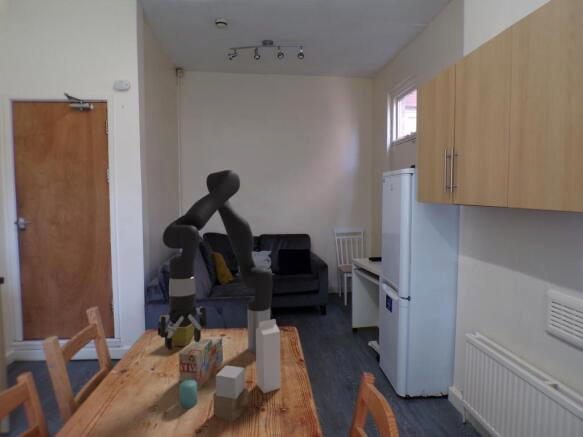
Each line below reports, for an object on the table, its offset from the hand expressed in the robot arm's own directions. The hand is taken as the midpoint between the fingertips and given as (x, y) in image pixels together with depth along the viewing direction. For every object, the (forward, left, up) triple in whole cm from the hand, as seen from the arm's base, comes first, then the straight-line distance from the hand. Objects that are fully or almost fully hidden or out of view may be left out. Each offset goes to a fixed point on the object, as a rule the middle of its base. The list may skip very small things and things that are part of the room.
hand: (183, 345), depth 103 cm
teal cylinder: (-1, +1, -18) cm, 18 cm away
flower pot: (-23, -40, -18) cm, 49 cm away
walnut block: (-7, +14, -18) cm, 24 cm away
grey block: (-7, +14, -12) cm, 20 cm away
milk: (-23, +12, -18) cm, 32 cm away
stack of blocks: (-14, -11, -18) cm, 25 cm away
